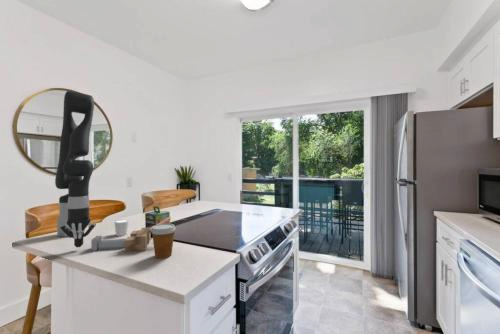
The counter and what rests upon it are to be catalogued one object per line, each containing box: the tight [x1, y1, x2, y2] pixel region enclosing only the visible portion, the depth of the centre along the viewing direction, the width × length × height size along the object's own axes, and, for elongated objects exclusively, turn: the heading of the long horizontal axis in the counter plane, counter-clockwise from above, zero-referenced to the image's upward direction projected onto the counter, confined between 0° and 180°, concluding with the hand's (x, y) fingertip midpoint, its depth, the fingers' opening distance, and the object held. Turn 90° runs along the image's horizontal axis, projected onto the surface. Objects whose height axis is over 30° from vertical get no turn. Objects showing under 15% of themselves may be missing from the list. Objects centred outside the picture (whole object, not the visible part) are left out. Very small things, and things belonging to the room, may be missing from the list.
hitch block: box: [124, 227, 152, 253], centre depth 108 cm, size 8×15×6 cm, turn 15°
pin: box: [90, 235, 127, 252], centre depth 105 cm, size 13×6×5 cm, turn 105°
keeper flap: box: [148, 215, 172, 233], centre depth 110 cm, size 11×5×1 cm, turn 104°
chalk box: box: [144, 205, 171, 237], centre depth 127 cm, size 9×9×15 cm
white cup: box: [114, 219, 130, 237], centre depth 125 cm, size 7×7×7 cm
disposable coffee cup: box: [151, 223, 176, 260], centre depth 96 cm, size 10×10×12 cm
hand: (78, 246), depth 102 cm, fingers closed
